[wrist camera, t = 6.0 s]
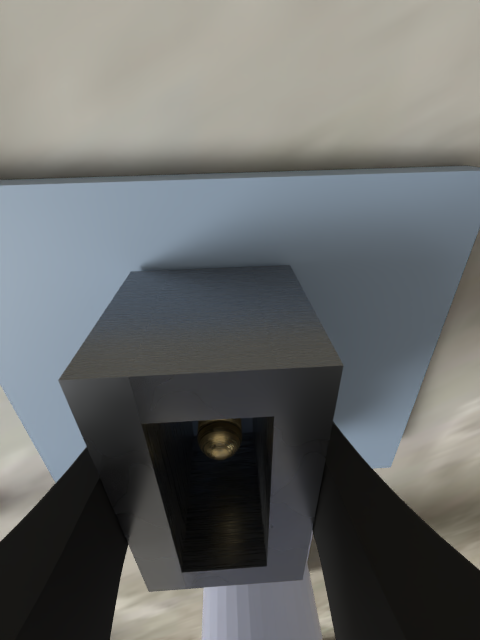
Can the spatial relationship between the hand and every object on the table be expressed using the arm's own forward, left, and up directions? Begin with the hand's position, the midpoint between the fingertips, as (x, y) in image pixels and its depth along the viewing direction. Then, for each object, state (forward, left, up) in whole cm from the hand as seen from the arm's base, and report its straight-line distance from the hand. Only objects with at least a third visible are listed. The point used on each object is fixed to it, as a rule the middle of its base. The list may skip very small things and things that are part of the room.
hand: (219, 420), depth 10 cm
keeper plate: (0, 0, -4) cm, 4 cm away
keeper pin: (0, 0, -2) cm, 2 cm away
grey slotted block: (0, 0, -2) cm, 2 cm away
